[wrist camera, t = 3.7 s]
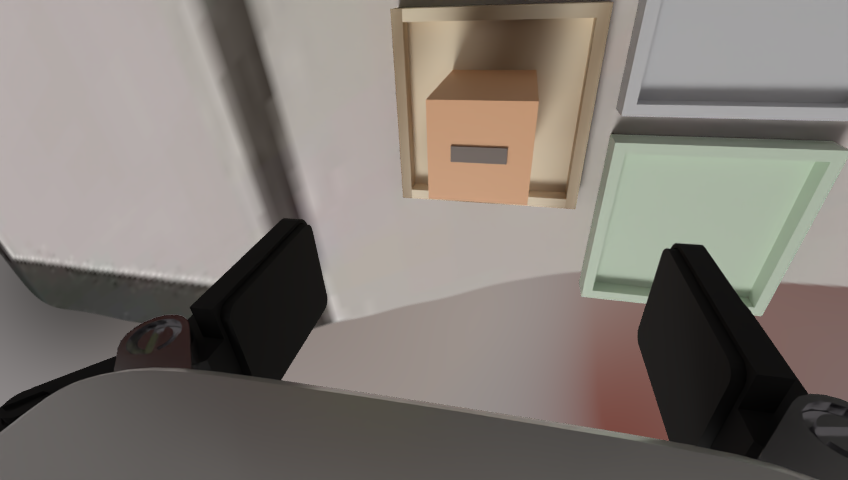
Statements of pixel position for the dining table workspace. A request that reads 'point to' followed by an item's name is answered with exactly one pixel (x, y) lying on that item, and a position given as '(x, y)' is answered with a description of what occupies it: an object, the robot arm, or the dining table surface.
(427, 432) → the robot arm
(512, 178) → the letter block
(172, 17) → the dining table surface
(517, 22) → the tray birch
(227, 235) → the dining table surface
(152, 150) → the dining table surface
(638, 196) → the tray green
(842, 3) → the tray grey
